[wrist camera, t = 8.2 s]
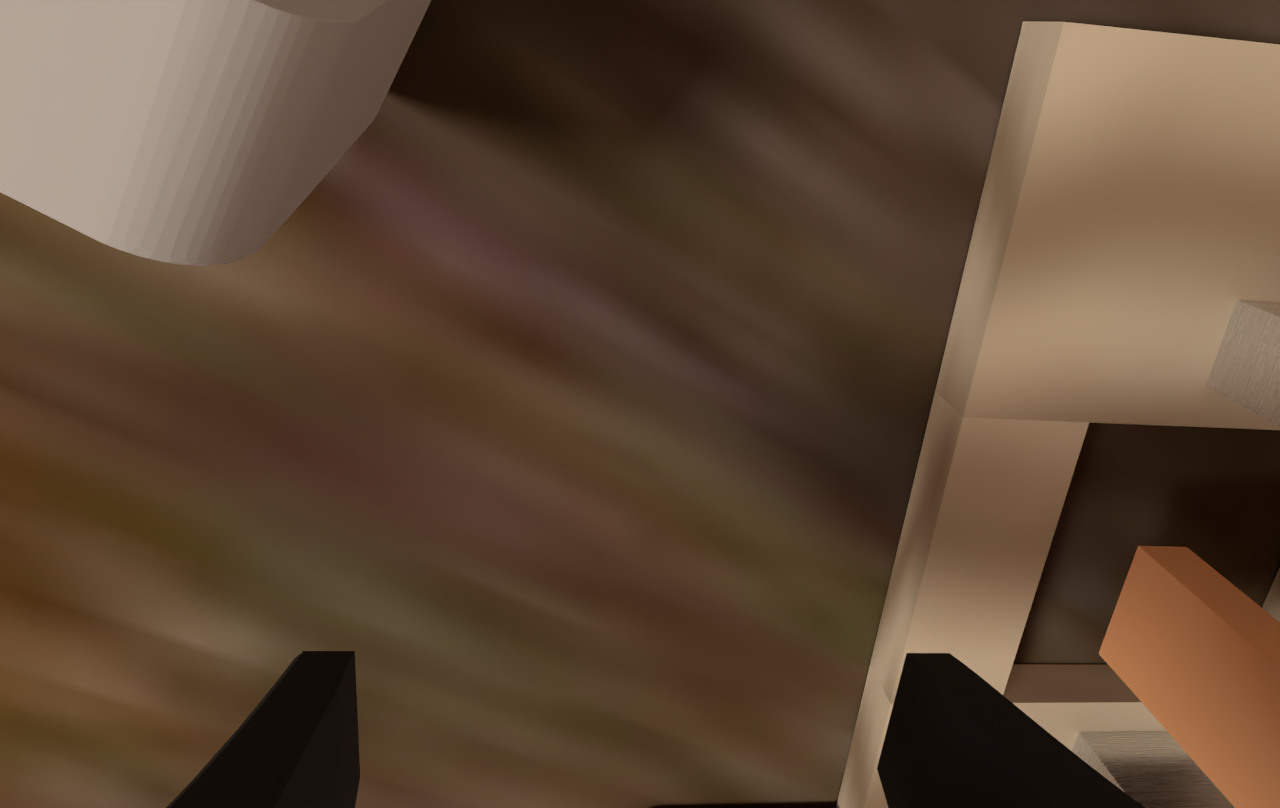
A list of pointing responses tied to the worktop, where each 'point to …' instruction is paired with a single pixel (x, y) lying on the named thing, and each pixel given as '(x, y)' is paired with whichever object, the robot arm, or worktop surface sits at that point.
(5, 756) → the worktop surface
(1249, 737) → the notched orange block
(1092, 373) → the shelf board
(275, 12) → the wall hook
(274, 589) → the worktop surface
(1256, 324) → the grey rod with blocks
